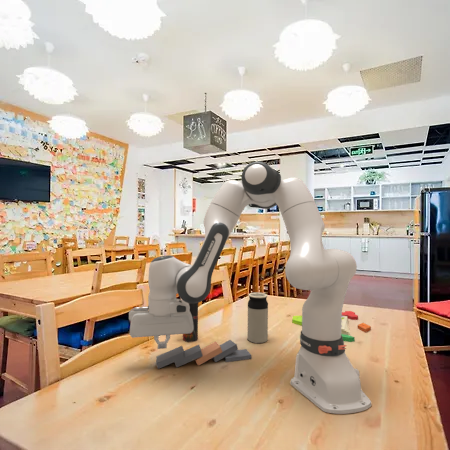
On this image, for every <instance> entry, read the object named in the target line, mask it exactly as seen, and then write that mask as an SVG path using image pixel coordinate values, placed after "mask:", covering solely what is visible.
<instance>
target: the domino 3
mask: <svg viewBox="0 0 450 450" xmlns="http://www.w3.org/2000/svg"><path fill="white" fill-rule="evenodd" d="M219 345H220V344H219V343H218V342H217V341H213V342H212V343H210V344H209V345H207V346H204V347H203V348H201V351H202V355H203V356H202V357H200V358H197V359H195V360H194V361H195V363H196V364H197V366H200V365H202V364H204V363H206V362H208V361H209V360H212V359H211V358H213V357H215V356H216V355H218V354H220V353H222V349H221V347H220V346H219Z"/></svg>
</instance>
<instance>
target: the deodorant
mask: <svg viewBox="0 0 450 450" xmlns="http://www.w3.org/2000/svg"><path fill="white" fill-rule="evenodd" d="M189 306H190V310H189V311H190V312H191V315H192V319H193V331H192V333H188V334H182V341H183V342H186V343H193V342H194V343H195V342H196V341H198V340H199V336H198V335H199V303H194V304H192V303H189Z"/></svg>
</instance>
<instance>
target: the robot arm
mask: <svg viewBox="0 0 450 450" xmlns="http://www.w3.org/2000/svg"><path fill="white" fill-rule="evenodd" d="M240 180H241V181H240ZM240 180H239V181H238V180H236V179H228V180H226V181H224V183H223V184H222V185H221V186H220V188H218V190H217V191H216V193H215V194H214V196H213V198H212V200H211V201H210V203H209V205H208V207H207V209H206V212H205V215H204V218H203V228H204V239H203V242H202V245H201V247H200V249H199V252H198V254H197V256H196V257H195V258H196V259H194V262H193V264H190V263H187V262H184V261H181V260H180V259H178V258H176V257H175V256H174V255H170V254H169V255H161V256H158V257H155V258H153V259H152V260H151V261H150V264H149V267H148V278H147V279H148V281H147V283H148V284H147V285H148V287H149V293H148V298H147V301H148V304H147V305H148V306H140V307H139V306H136V307H133V308H131V309H130V310H129V312H128V320H129V321H130V326H129V336H130V337H131V338H143V337H148V338H149V337H153V338H154V339H153V340H154V341H155V343H156V344H157V350H161V349H167V348H168V347H167V346H168V343H169V341H170V339H171V335H173V336H175V335H183V334H188V333H192V331H193V319H192V315H191V312H190V311H189V310H190V306H189V303H192V304H194V303H198V304H199V303H200V302H202V301H204V300H205V299H207V297H208V295H209V294H210V292H211V288H212V277H213V273H214V270H215V268H216V266H217V264H218V261H219V259H220V258H221V257H220V256H221V254H222V252H223V250H224V248H225V245H226V243H227V242H228V239H229V237H230V235H231V234H232V232H233V231H234V228H235V227H236V225H237V224H238V222H239V220H240V217H241V215H242V213H243V211H244V210H245V208H246V207H247V206H249V207H250V208H256V209H257V208H258V209H263V210H269V209H272V208H274V207H276V206H277V208H278V209H279V212H280V215H281V217H282V220H283V223H284V225H285V228H286V231H287V234H288V238H289V242H290V255H289V257H288V259H287V261H286V263H285V268H284V272H285V277H286V279H287V281H288V283H289V284H290V285H291V286H292V287H294V288H295V289H298V290H303V291H304V290H305V291H310V293H309V295H308V297H307V299H305V301H304V303H303V305H302V309H301V316H302V326H301V331H300V335H299V340H300V341H299V344H300V349H299V350H298V352H297V353H296V356H295V357H296V358H295V363H294V364H295V367H294V374H293V375H294V376H293V377H291V379H290V381H289V384H290V386H292V387H293V388H294V389H296V390H297V391H298V392H299V393H301V394H302V395H303V396H304V397H305V398H307V399H308V400H309V401H310V402H312V403H313V404H314V405H315V406H316V407H318V408H319V409H320V410H321V411H323V412H325V413H329V414H335V415H336V414H337V415H343V414H345V415H346V414H353V413H359V412H363V411H366V410H367V409H370V408H371V406H372V400H370V398H369V397H368V396H367V394H366V393H365V392H364V391H363V390H362V385H361V383H362V382H361V379H360V371H359V369H358V368H354V366H353V364H352V362H351V361H350V359H349V357H348V356H347V354H346V350H347V348H346V347H347V345H346V344H345V341H343V337H342V335H341V321H342V312H343V306H344V302H345V298H346V296H347V291H348V288H349V285H350V284H351V283H350V282H351V281H352V279H353V277H354V276H355V275H356V272H357V267H358V266H357V262H356V259H355V257H354V256H353V255H352V253H350V252H348V251H346V250H342V249H338V248H324V243H323V238H322V235H323V233H324V231H325V227H326V226H325V223H324V220H323V218H322V215H321V213H320V211H319V209H318V208H319V207H318V205H317V204H316V202H315V199H314V197H313V196H312V193H311V191H310V190H309V188H308V186H307V185H306V183H305V182H304V181H303V180H302V179H300V178H299V177H295V176H294V177H287V178H285V179H283V178H282V175H281V173H280V172H278V171H276V170H275V169H274V168H273V167H272V166H270V165H269V164H267V163H266V162H263V161H259V160H258V161H253V162H250V163H248V164H247V165H246V166H244V169H243V170H242V171H241V178H240ZM177 295H178V296H179V298H177ZM160 336H165V339H164V340H163V341H160V340H159V337H160Z"/></svg>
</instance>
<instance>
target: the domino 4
mask: <svg viewBox="0 0 450 450" xmlns="http://www.w3.org/2000/svg"><path fill="white" fill-rule="evenodd" d="M218 345H219V346H220V347H221V349H222V353H220V354H218V355H216V356H215V357H213V358H211V359H210V360H212V361H213V362H215V363H218V362H220V361H221V360H222V359H224V357H226V356H227V355H229V354H231V353H233V352H235V351H236V350H239V349H238V344H237V343H235V342H234V341H233V340H231V339H228V340H227V341H225V342H223V343H221V344H218Z"/></svg>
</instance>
